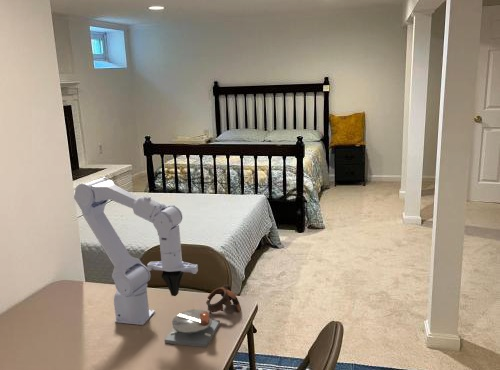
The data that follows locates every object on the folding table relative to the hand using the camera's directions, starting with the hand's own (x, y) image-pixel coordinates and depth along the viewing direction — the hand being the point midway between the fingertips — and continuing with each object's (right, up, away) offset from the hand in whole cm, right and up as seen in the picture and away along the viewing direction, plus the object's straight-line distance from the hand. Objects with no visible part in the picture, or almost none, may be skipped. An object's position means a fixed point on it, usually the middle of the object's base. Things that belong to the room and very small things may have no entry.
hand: (174, 294), depth 130 cm
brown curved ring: (+14, -7, +10) cm, 19 cm away
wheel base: (+6, -10, -2) cm, 12 cm away
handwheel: (+5, -9, -2) cm, 11 cm away
